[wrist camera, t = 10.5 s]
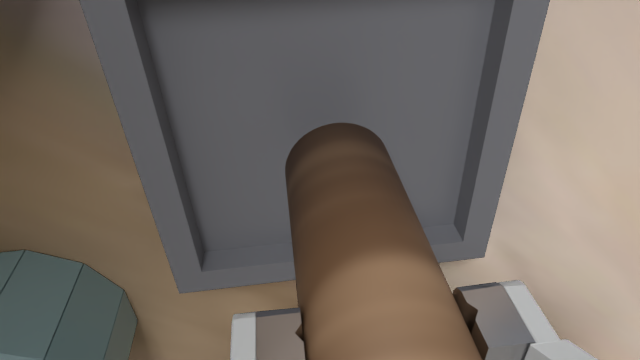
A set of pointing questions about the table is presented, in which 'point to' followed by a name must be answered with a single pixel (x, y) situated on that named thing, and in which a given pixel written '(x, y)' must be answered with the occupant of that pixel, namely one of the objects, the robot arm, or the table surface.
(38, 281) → the tube
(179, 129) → the tray
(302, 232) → the dowel
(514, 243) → the table surface
